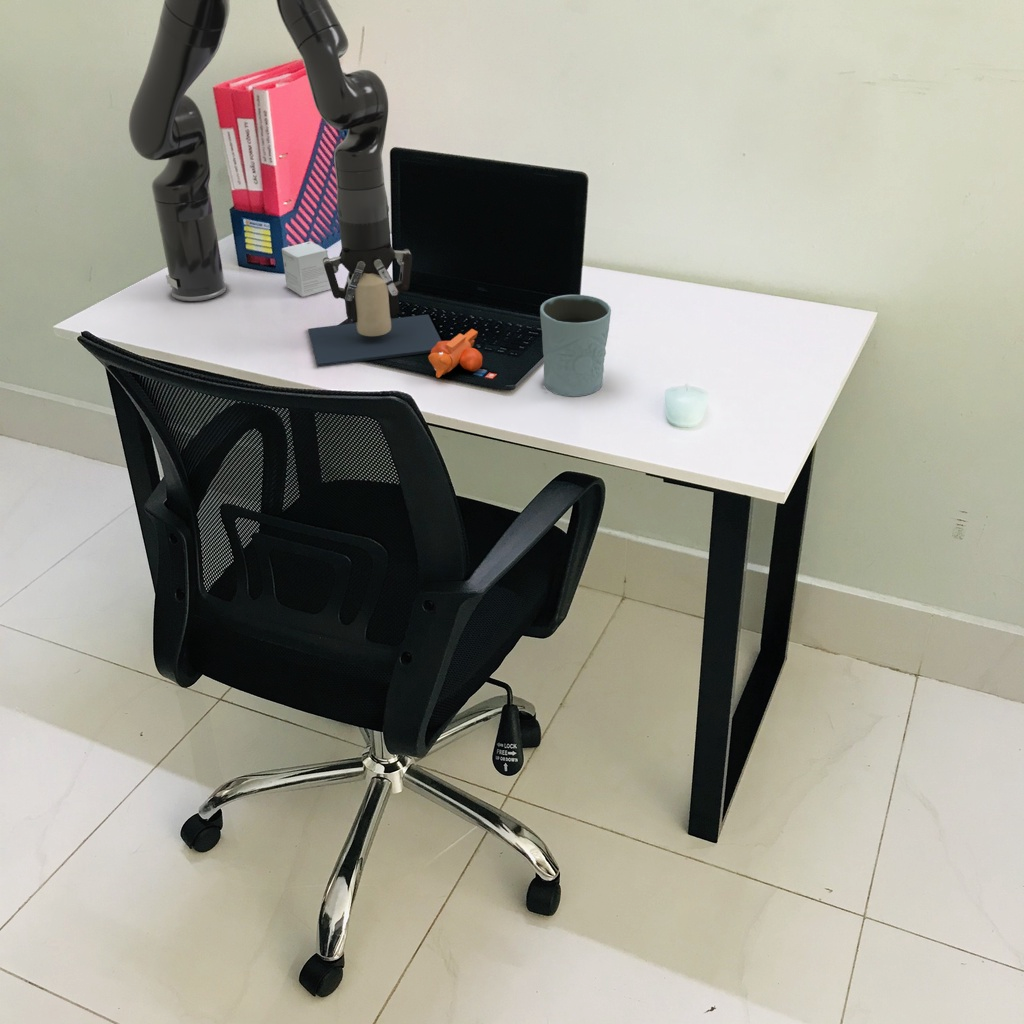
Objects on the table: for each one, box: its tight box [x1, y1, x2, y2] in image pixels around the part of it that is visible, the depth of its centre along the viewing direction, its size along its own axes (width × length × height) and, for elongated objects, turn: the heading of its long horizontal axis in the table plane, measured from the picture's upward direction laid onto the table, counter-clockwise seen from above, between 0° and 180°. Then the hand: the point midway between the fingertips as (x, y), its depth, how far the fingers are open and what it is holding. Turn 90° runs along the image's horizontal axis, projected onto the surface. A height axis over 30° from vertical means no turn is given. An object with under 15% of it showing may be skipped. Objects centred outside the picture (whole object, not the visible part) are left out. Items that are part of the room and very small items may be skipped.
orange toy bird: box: [427, 328, 483, 378], centre depth 169 cm, size 5×8×12 cm
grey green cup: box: [539, 294, 612, 397], centre depth 162 cm, size 10×10×12 cm
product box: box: [281, 240, 331, 298], centre depth 197 cm, size 6×6×7 cm
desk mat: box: [307, 314, 442, 368], centre depth 179 cm, size 14×20×1 cm
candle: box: [353, 273, 392, 336], centre depth 175 cm, size 6×6×10 cm
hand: (373, 317), depth 177 cm, fingers closed on candle, 5 cm apart
